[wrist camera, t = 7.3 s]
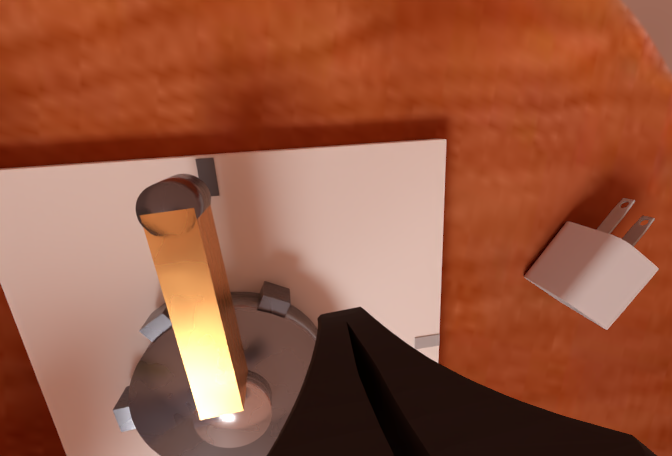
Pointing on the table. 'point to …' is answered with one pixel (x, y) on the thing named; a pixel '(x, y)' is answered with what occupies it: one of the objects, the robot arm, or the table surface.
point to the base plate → (237, 252)
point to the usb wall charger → (595, 267)
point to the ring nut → (210, 340)
